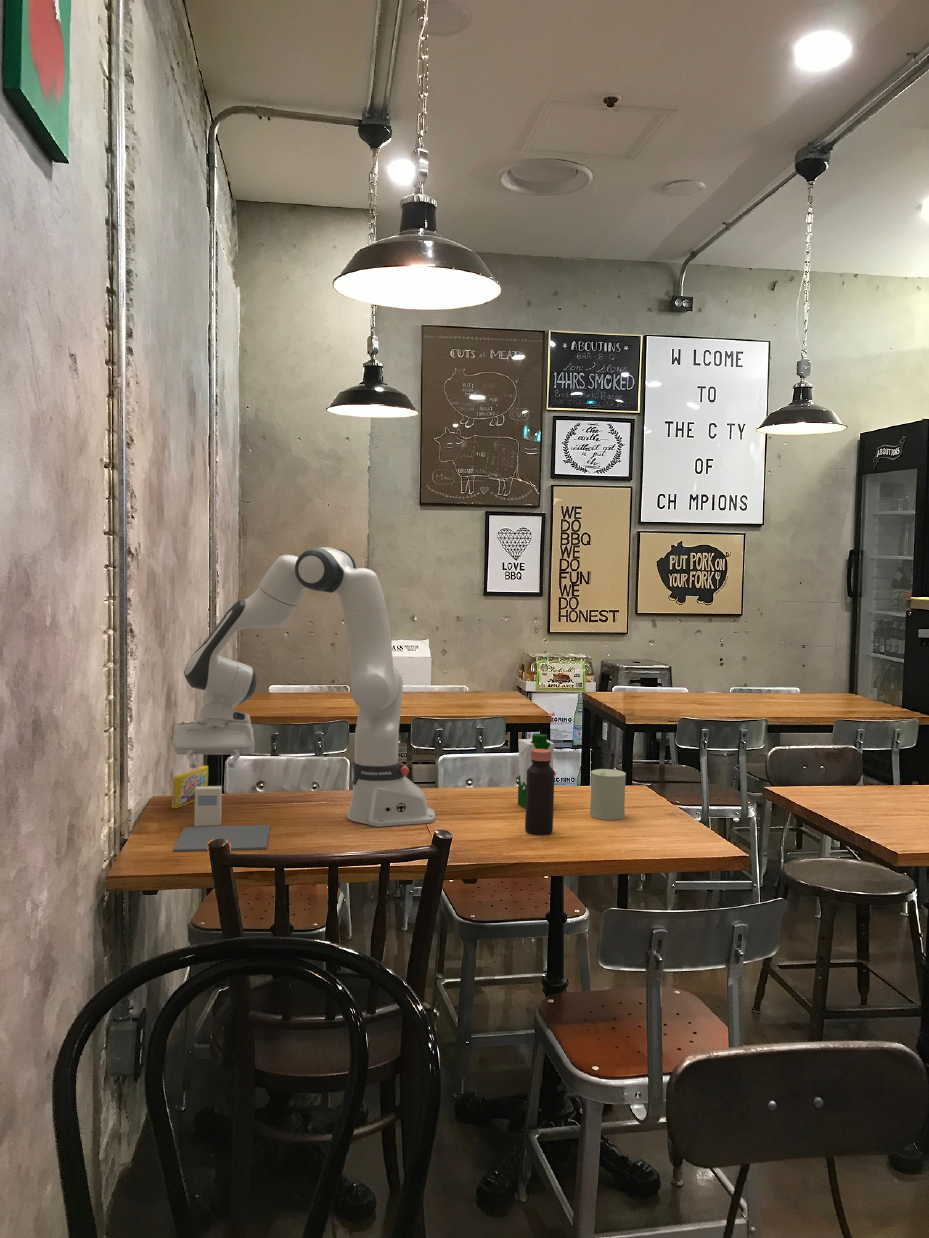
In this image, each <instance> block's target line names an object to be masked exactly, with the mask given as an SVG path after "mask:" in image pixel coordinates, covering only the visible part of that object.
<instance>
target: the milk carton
mask: <svg viewBox="0 0 929 1238" xmlns="http://www.w3.org/2000/svg"><path fill="white" fill-rule="evenodd" d="M531 735H532V736H531V738H523V739H522V738H521V739H520V738H519V739H518V740H517V741H518V778H517V779H518V781H517V782H518V784H517V788H518V789H517V805H519V806H521V807H522V808H523V809H525V810H526V781H527V770H528V768H529V767H530V766H531V765H532V761H531V760H532V759H531V750H533V749H547V750H550V751H551V760H550V761H551V762H550V767H551V768H552V769H553V770H554V767H553V766H554V765H553V764H554V753H555V752H554V751H555V742H553V741H551V740H549V739H548V735H547V734H544V733H533V734H531Z"/></svg>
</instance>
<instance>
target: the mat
mask: <svg viewBox="0 0 929 1238" xmlns="http://www.w3.org/2000/svg"><path fill="white" fill-rule="evenodd" d="M270 830H271V824H267V825H266V824H264V825H263V824H261V825H260V824H256V825H254V824H253V825H252V824H251V825H249V824H248V825H219V826H184V827H183V829H182V831H181V834H180V835H179V837H178V838H177V839H178V840H177V841H176V843H175V845H174V847H173V851H172V852H174V853H176V852H179V851H182V852H208V851H207V844H208V842H209V841H210V840H212V839H216V838H224V839H228V841H229V842H230V844H231V850H230V851H247V850H248V851H253V850H256V849H257V850H268V849H267V848H268V843H269V837H270V836H269V835H270Z"/></svg>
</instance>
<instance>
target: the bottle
mask: <svg viewBox="0 0 929 1238" xmlns="http://www.w3.org/2000/svg"><path fill="white" fill-rule="evenodd" d="M531 759H532V760H531V761H532V765H531V766H530V767H529V768H528V770H527V781H526V809H525V821H524V822H525V823H524V830H525V831H526V833H528V834H531V835H537V836H538V835H539V836H540V835H541V836H545V835H549V834H552V833H553V831H554V803H555V802H554V800H555V799H554V797H555V770H554V768H553V769H552V768H551V767H550V762H551V761H550V760H551V751H550V750H547V749H533V750H531Z"/></svg>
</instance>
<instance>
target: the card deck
mask: <svg viewBox="0 0 929 1238" xmlns="http://www.w3.org/2000/svg"><path fill="white" fill-rule="evenodd" d="M222 789H223V786H222V785H208V786H196V788H195V801H194V824H193V827H200V826H221V823H222V796H223V794H222V791H223V790H222Z"/></svg>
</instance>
